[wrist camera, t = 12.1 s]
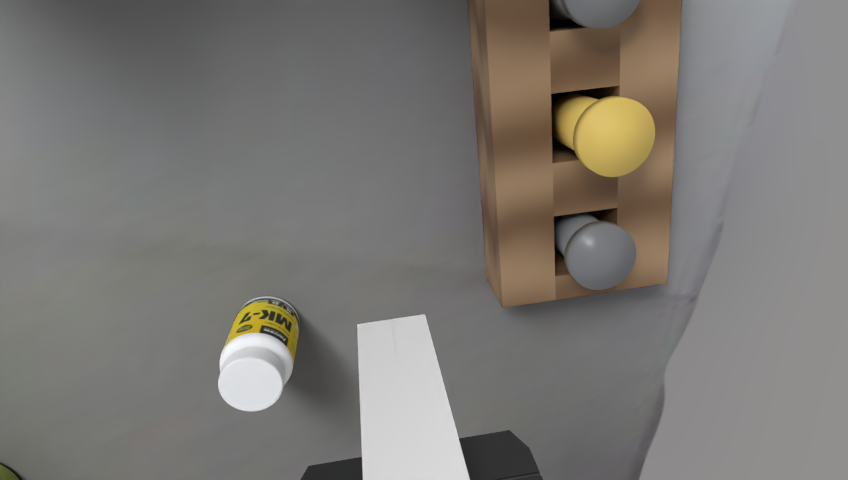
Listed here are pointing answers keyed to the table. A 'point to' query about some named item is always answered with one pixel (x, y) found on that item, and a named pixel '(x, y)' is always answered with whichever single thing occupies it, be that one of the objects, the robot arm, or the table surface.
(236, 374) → the supplement bottle
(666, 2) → the walnut plug block
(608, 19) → the graphite plug
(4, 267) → the table surface
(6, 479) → the plant pot
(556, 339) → the table surface
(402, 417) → the robot arm
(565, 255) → the graphite plug
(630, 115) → the ochre plug
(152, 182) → the table surface
